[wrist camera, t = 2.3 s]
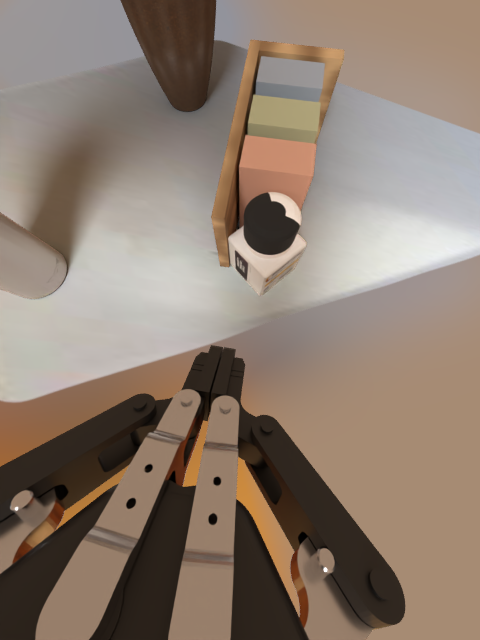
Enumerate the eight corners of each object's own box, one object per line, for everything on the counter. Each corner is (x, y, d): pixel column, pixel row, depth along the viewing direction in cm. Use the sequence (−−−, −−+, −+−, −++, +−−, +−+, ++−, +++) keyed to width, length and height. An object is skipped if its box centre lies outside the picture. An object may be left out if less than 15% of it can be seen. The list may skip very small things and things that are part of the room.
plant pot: (179, 63, 48) (151, -85, 33) (238, 89, 46) (237, -54, 31) (137, 107, 45) (83, -33, 30) (198, 137, 43) (174, 5, 28)
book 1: (251, 162, 42) (256, 81, 30) (255, 141, 43) (261, 56, 32) (299, 168, 42) (322, 88, 30) (301, 147, 43) (325, 63, 31)
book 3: (239, 228, 39) (239, 166, 27) (243, 204, 40) (245, 134, 28) (291, 236, 38) (313, 176, 27) (294, 211, 40) (316, 143, 28)
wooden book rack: (220, 266, 37) (211, 216, 25) (247, 128, 44) (250, 39, 32) (301, 278, 37) (330, 233, 25) (316, 136, 43) (344, 50, 32)
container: (260, 297, 36) (271, 256, 23) (229, 264, 37) (223, 208, 24) (295, 269, 37) (323, 215, 24) (263, 237, 38) (275, 171, 26)
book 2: (245, 195, 40) (248, 122, 29) (249, 172, 41) (253, 94, 30) (295, 202, 40) (317, 131, 28) (298, 179, 41) (320, 102, 29)
